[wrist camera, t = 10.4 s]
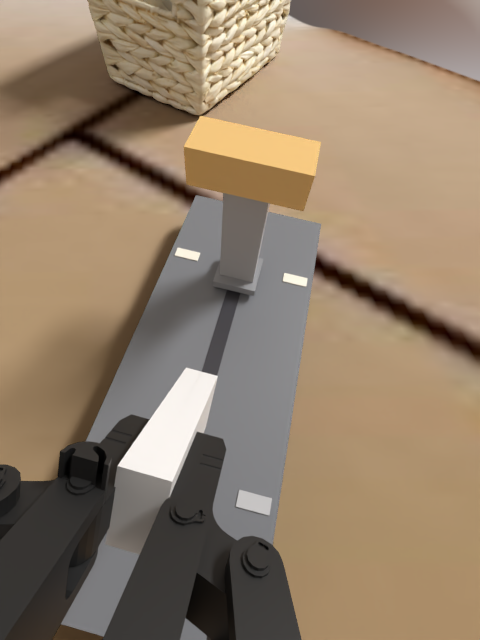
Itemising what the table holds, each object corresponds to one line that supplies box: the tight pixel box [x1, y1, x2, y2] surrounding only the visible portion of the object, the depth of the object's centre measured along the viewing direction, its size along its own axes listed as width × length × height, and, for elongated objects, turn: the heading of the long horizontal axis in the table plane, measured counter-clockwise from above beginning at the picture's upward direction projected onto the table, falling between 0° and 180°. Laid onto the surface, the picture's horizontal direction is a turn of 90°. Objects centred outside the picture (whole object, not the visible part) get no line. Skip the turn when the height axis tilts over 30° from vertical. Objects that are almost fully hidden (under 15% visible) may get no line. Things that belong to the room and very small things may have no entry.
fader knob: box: [184, 116, 321, 296], centre depth 19 cm, size 3×6×10 cm, turn 77°
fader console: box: [61, 195, 321, 640], centre depth 22 cm, size 28×11×3 cm, turn 167°
